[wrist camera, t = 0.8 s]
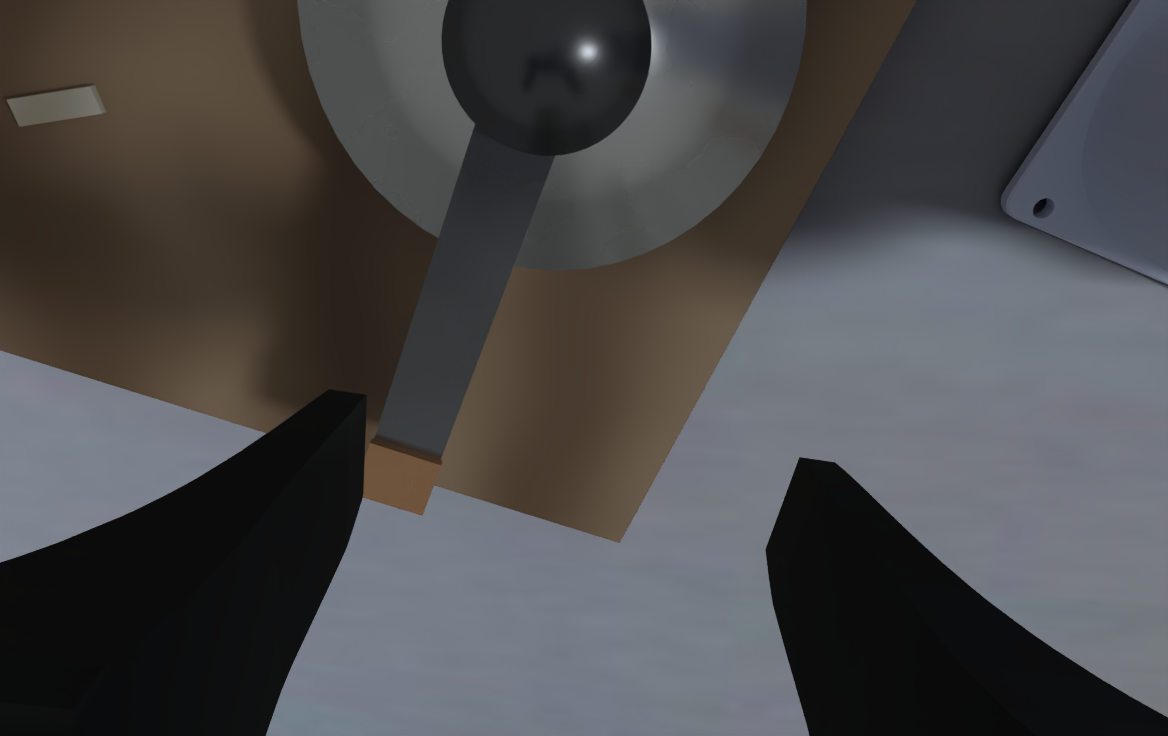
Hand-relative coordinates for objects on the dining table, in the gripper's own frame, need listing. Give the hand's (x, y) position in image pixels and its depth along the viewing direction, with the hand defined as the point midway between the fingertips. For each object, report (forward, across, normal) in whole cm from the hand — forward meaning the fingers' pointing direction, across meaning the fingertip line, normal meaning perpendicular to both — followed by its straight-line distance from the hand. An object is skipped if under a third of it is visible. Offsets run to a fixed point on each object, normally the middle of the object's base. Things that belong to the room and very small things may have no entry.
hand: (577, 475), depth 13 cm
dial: (+8, +2, -3) cm, 9 cm away
